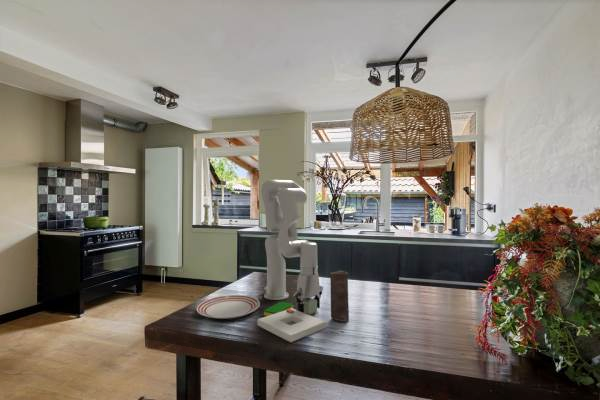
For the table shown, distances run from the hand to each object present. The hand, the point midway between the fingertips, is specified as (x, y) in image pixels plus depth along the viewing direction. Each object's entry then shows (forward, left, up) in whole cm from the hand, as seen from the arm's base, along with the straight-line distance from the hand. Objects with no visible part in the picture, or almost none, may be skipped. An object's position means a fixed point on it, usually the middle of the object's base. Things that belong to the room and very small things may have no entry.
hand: (308, 309), depth 134 cm
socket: (+5, -15, -2) cm, 16 cm away
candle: (+14, +4, -2) cm, 15 cm away
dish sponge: (-11, -8, -2) cm, 14 cm away
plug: (0, 0, -2) cm, 2 cm away
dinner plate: (-26, -24, -2) cm, 36 cm away
